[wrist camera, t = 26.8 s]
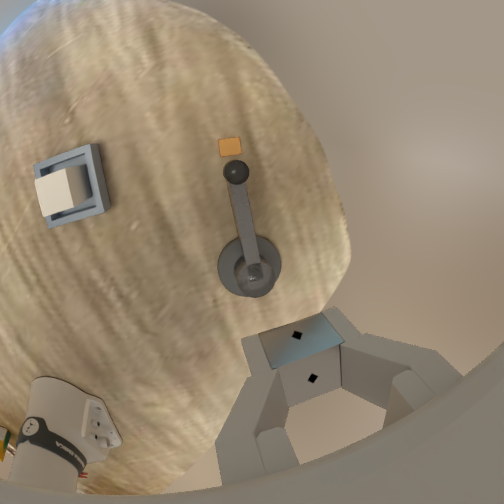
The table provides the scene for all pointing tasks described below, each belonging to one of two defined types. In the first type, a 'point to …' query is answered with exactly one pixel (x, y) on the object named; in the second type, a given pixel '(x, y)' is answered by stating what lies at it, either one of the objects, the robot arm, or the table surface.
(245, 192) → the crank arm
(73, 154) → the tray
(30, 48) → the table surface
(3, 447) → the crayon box
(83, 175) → the cream block
